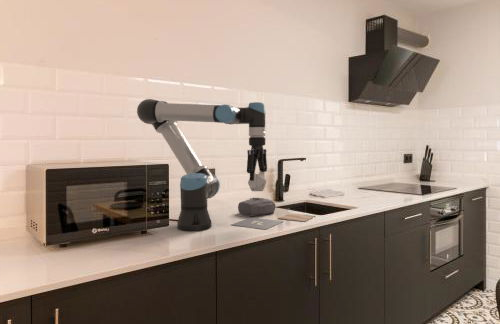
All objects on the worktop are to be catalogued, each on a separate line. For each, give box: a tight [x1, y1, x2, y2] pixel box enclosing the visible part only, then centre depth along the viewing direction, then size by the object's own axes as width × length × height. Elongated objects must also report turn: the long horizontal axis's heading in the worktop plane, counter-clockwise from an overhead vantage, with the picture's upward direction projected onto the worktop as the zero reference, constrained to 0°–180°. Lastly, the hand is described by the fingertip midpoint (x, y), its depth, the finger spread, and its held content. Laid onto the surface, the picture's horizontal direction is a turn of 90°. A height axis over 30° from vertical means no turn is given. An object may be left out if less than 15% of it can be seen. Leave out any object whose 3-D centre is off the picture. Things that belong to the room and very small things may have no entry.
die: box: [248, 173, 267, 192], centre depth 172 cm, size 8×9×10 cm
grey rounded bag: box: [237, 197, 277, 217], centre depth 197 cm, size 15×8×20 cm
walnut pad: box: [277, 212, 316, 223], centre depth 185 cm, size 14×14×1 cm
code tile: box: [230, 216, 285, 231], centre depth 173 cm, size 18×18×1 cm
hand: (257, 186), depth 172 cm, fingers closed on die, 7 cm apart
